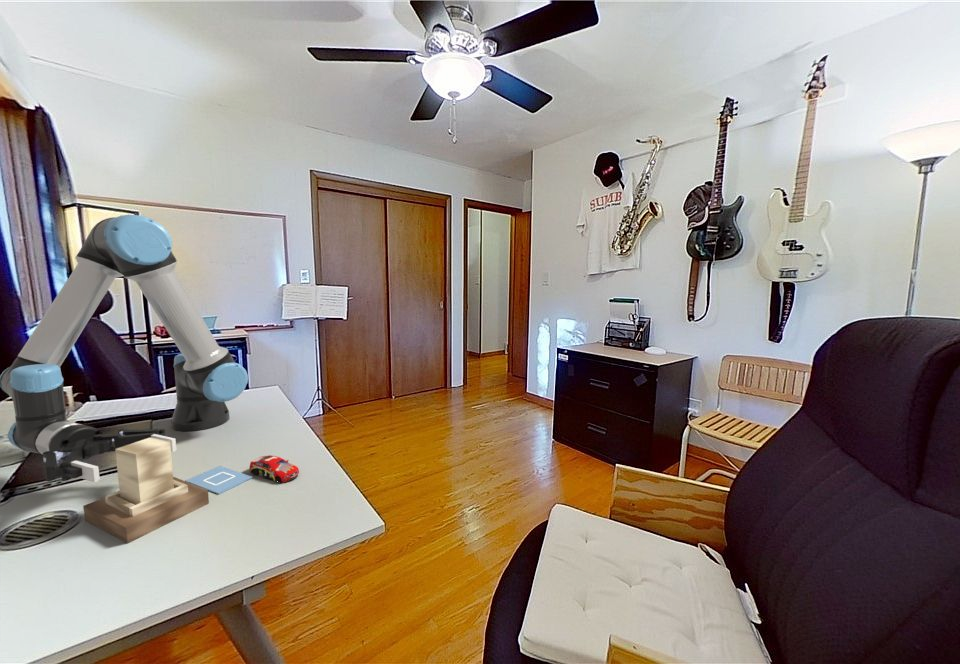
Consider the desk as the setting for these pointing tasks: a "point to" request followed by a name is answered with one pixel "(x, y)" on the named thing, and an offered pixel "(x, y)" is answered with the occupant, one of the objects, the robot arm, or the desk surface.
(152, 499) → the base plate
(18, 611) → the desk surface
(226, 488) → the blueprint card
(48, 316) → the robot arm
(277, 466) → the race car
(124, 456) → the pillar
